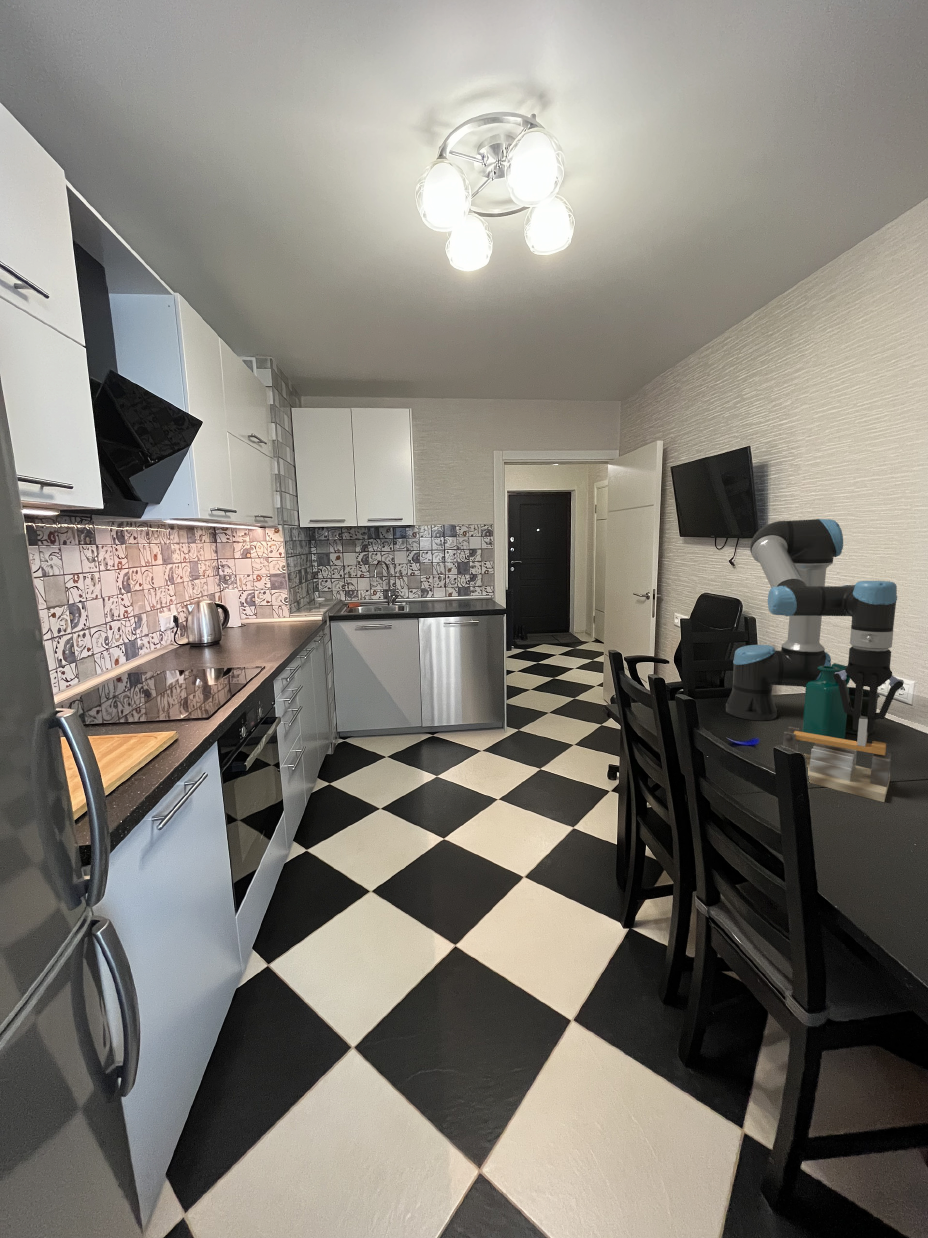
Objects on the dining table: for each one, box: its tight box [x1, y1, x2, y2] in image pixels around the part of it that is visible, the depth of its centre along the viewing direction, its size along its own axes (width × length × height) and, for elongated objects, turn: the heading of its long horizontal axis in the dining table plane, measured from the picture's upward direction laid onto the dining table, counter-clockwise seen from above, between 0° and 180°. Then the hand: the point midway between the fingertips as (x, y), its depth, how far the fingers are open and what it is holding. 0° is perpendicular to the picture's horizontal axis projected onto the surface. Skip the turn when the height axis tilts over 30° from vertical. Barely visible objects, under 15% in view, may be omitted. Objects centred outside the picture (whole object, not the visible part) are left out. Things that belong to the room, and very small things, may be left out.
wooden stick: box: [794, 731, 887, 755], centre depth 120 cm, size 18×3×2 cm, turn 45°
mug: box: [845, 686, 881, 736], centre depth 151 cm, size 11×15×12 cm
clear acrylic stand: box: [782, 726, 892, 803], centre depth 121 cm, size 21×13×10 cm, turn 45°
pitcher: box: [801, 662, 851, 739], centre depth 143 cm, size 10×8×22 cm
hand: (861, 744), depth 116 cm, fingers closed
